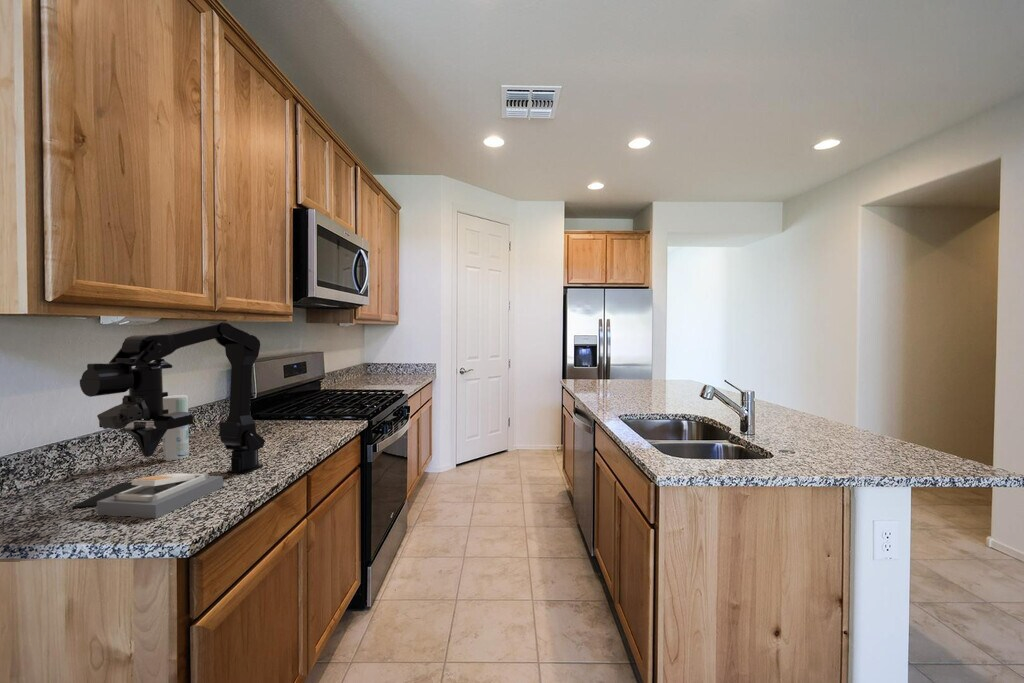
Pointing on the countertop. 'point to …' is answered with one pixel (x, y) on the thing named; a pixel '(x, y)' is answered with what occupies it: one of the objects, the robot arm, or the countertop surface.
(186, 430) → the spray can
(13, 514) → the countertop surface
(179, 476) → the rocker switch
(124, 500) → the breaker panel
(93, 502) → the smartphone
